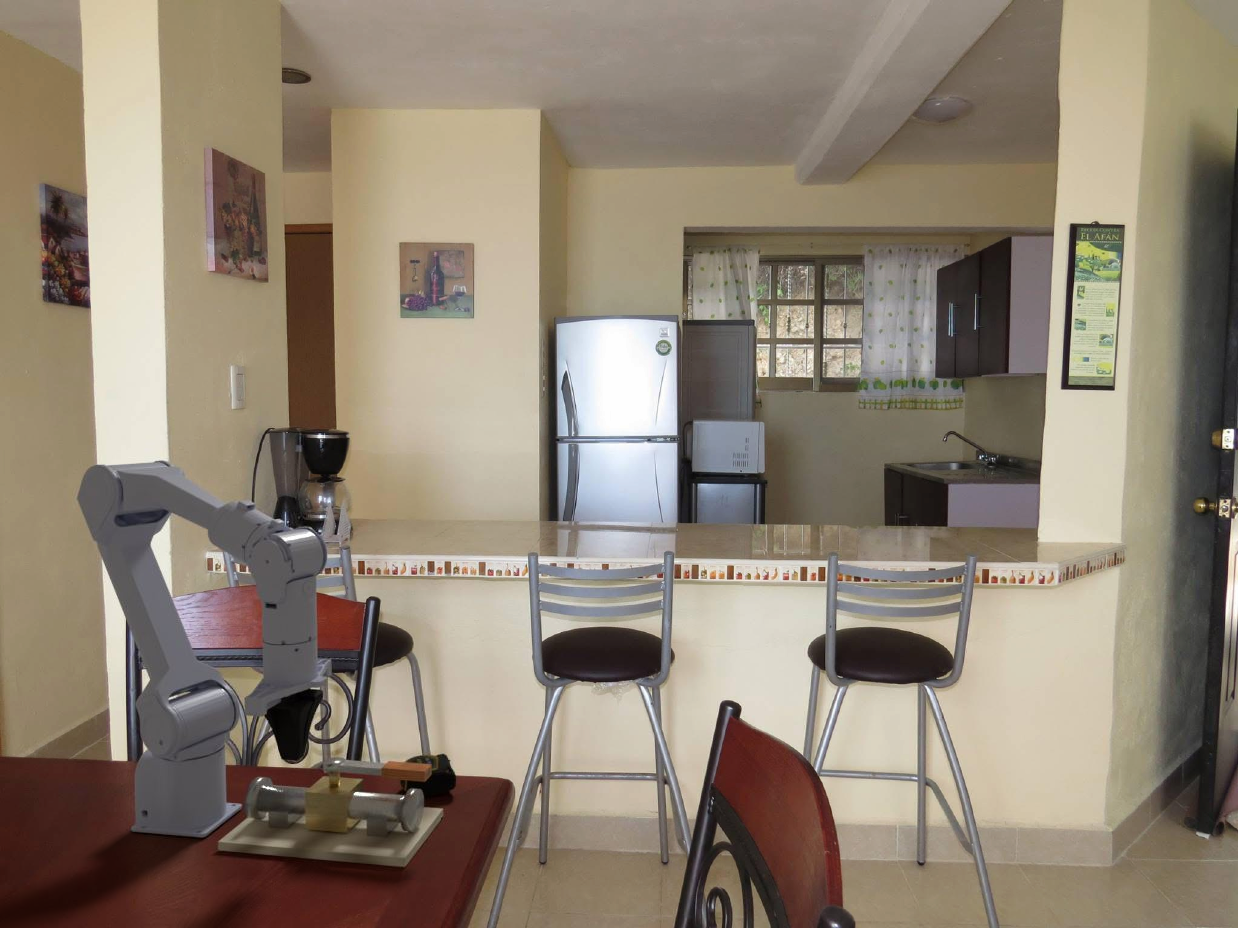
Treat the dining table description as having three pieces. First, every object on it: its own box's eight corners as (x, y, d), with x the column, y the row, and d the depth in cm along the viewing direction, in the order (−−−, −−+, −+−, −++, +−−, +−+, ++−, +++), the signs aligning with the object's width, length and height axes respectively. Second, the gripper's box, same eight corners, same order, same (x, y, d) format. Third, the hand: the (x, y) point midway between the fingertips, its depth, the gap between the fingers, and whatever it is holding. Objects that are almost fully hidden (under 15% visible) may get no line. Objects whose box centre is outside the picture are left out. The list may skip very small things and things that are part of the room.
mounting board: (218, 850, 101) (218, 841, 101) (274, 803, 113) (274, 795, 113) (405, 866, 97) (405, 857, 97) (443, 816, 109) (443, 808, 109)
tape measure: (457, 798, 115) (457, 769, 115) (402, 804, 113) (402, 775, 113) (450, 776, 121) (450, 749, 121) (398, 782, 119) (398, 755, 119)
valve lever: (319, 773, 104) (319, 763, 103) (329, 765, 106) (329, 755, 106) (424, 782, 101) (424, 771, 101) (432, 773, 104) (432, 763, 104)
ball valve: (244, 826, 104) (243, 773, 104) (266, 809, 109) (265, 758, 108) (409, 840, 101) (408, 786, 101) (424, 821, 106) (423, 769, 105)
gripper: (287, 658, 92) (289, 787, 93) (354, 624, 106) (356, 736, 107) (225, 654, 93) (228, 781, 94) (299, 621, 108) (301, 732, 108)
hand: (292, 757), depth 101 cm, fingers closed
